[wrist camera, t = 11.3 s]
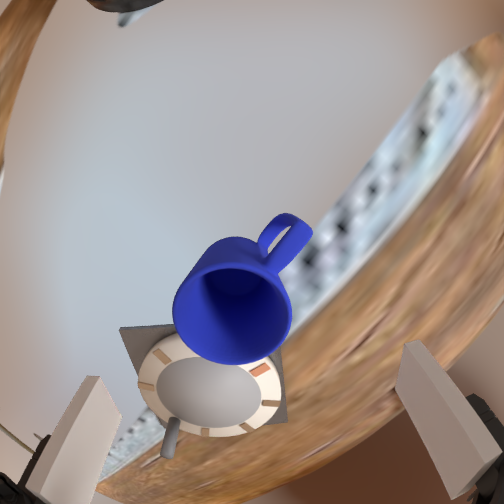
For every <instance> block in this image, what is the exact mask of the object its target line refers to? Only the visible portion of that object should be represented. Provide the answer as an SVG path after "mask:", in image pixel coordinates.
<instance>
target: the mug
mask: <svg viewBox="0 0 504 504" xmlns="http://www.w3.org/2000/svg"><path fill="white" fill-rule="evenodd" d="M288 226H291V227H290V229H289V230H288V231H287V232H286V234H285V235H284V236H283V237H282V239H281V240H280V241H279V242H278V243H277V245H276V246H275V247H274V248H273V250H272V251H271V252H270V253H269V254H268V251H267V250H268V247H269V246H270V244H271V243H272V242H273V240H274V239H275V238H276V237H277V236H278V234H279V233H280V232H281V231H283V230H284V229H285V228H286V227H288ZM312 234H313V231H312V229H311V228H310V227H309V226H308V225H307V224H306V223H305V222H304V221H302V220H301V219H299V218H298V217H296V216H294V215H292V214H288V213H283V214H279V215H278V216H276V217H275V218H274V219H273V220H272V221H271V222H270V223H269V224H268V225H267V226H266V228H265V229H264V230H263V232H262V233H261V234H260V236H259V238H258V242H257V243H256V242H254V241H252V240H250V239H247V238H243V237H228V238H224V239H221V240H219V241H217V242H215V243H214V244H212V245H211V246H210V247H209V248H208V249H207V250H206V251H205V253H204V254H203V255H202V257H201V258H200V259H199V261H198V262H197V263H196V265H195V266H194V267H193V269H192V270H191V271H190V273H189V274H188V276H187V277H186V278H185V280H184V281H183V282H182V284H181V285H180V287H179V289H178V291H177V292H176V295H175V297H174V301H173V307H172V315H173V322H174V325H175V329H176V331H177V333H178V335H179V336H180V338H181V339H182V341H183V342H184V343H185V344H186V346H187V347H188V348H190V349H191V350H192V351H193V352H194V353H196V354H197V355H199V356H201V357H202V358H204V359H206V360H209V361H212V362H215V363H219V364H224V365H243V364H249V363H253V362H256V361H259V360H261V359H263V358H265V357H267V356H268V355H270V354H271V353H273V352H274V351H275V350H276V349H277V348H278V347H279V346H280V345H281V344H282V343H283V341H284V340H285V338H286V336H287V334H288V332H289V329H290V326H291V321H292V308H291V303H290V300H289V297H288V295H287V292H286V290H285V288H284V286H283V284H282V282H281V280H280V278H279V276H278V273H279V272H280V271H281V270H282V269H283V268H285V267H286V266H287V265H288V264H289V263H290V262H291V261H292V260H293V259H294V258H295V256H296V255H297V254H298V253H299V252H300V251H301V250H302V248H303V247H304V246H305V245H306V243H307V242H308V241H309V240H310V238H311V237H312Z"/></svg>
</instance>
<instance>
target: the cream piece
mask: <svg viewBox="0 0 504 504" xmlns="http://www.w3.org/2000/svg"><path fill="white" fill-rule="evenodd" d="M138 388H139V389H140V392H141V395H142V397H143V399H144V401H145V402H146V404H147V405H148V406H149V408H150V409H151V410H152V411H153V412H154V413H155V414H156V415H157V416H159V417H160V418H161V419H162V420H164V421H165V422H167V423H168V424H167V428H166V432H165V436H164V440H163V444H162V448H161V452H160V455H161V456H162V457H164V458H166V459H172V458H173V456H174V451H175V446H176V442H177V437H178V432H179V429H181V430H183V431H186V432H189V433H193V434H197V435H201V437H209V436H211V437H226V436H234V435H239V434H243V433H246V432H248V433H250V432H252V431H254V430H255V429H256V428H258V427H260V426H261V425H263V424H264V423H266V422H267V421H268V420H269V419H270V418H271V417H272V416H273V415H274V413H275V412H276V410H277V408H278V407H279V406H280V402H281V401H280V400H281V386H280V379H279V375H278V371H277V369H276V367H275V365H274V364H273V362H272V361H271V359H270V358H269V357H268V356H267V357H265V358H263V359H261V360H259V361H256V362H253V363H249V364H243V365H224V364H219V363H215V362H212V361H209V360H206V359H204V358H202V357H201V356H199V355H197V354H196V353H194V352H193V351H192V350H191V349H190V348H188V347H187V346H186V344H185V343H184V342H183V341H182V339H181V338H180V336H179V335H178V333H176V334H172V335H170V336H168V337H166V338H164V339H162V340H161V341H159V342H157V343H156V344H155V345H154V346H153V347H152V348H151V349H150V350H149V352H148V353H147V355H146V357H145V359H144V361H143V363H142V366H141V368H140V371H139V377H138Z"/></svg>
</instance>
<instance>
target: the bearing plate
mask: <svg viewBox="0 0 504 504" xmlns="http://www.w3.org/2000/svg"><path fill="white" fill-rule="evenodd" d="M119 331H120V334H121V337H122V339H123V342H124V344H125V347H126V349H127V351H128V354H129V356H130V359H131V361H132V363H133V366H134V368H135V370H136V372H137V375H138V377H139V371H140V368H141V366H142V363H143V361H144V359H145V357H146V355H147V353H148V352H149V350H150V349H151V348H152V347H153V346H154V345H155V344H156V343H157V342H159V341H161V340H162V339H164V338H166V337H168V336H170V335H172V334H176V333H177V331H176V329H175V325H174V324H167V325H153V326H137V327H121V328H120V329H119ZM268 357H269V358H270V359H271V361H272V362H273V364H274V365H275V367H276V369H277V371H278V375H279V379H280V386H281V400H280V401H281V402H280V406H279V407H278V408H277V410H276V412H275V413H274V415H273V416H272V417H271V418H270V419H269V420H268V421H267V422H266V423H264V424H263V425H270V424H278V423H286V422H288V418H287V408H286V397H285V387H284V377H283V368H282V358H281V348H280V346H279V347H278V348H277V349H276V350H275V351H274V352H273V353H271V354H270V355H268ZM158 418H159V420H160V421H161V423H162V425H163V427H164V428H167V424H168V423H167V422H165V421H164V420H162V419H161V418H160V417H159V416H158Z"/></svg>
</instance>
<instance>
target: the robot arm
mask: <svg viewBox="0 0 504 504" xmlns="http://www.w3.org/2000/svg"><path fill="white" fill-rule="evenodd" d="M87 1H88V2H89V3H90V4H91V5H93V6H94V7H95V8H97V9H99V10H102V11H107V12H127V11H133V10H138V9H141V8H145V7H148V6H151V5H154V4H156V3H159V2H161V1H163V0H87ZM395 390H396V392H397V394H398V396H399V397H400V399H401V401H402V403H403V405H404V407H405V408H406V410H407V412H408V414H409V416H410V418H411V419H412V421H413V423H414V425H415V427H416V429H417V430H418V433H419V434H420V436H421V438H422V440H423V442H424V444H425V446H426V448H427V450H428V452H429V454H430V456H431V458H432V460H433V462H434V464H435V466H436V468H437V470H438V472H439V474H440V476H441V479H442V481H443V483H444V485H445V487H446V489H447V491H448V494H449V496H450V498H451V500H453V499H454V498H456V497H458V496H460V495H462V494H464V493H466V492H467V491H469V490H470V489H471V488H472V487H473V486H474V485H475V484H476V486H477V489H476V490H475V491H474V492H473V493H472V494H471V495H470V496H469V498H468V499H467V501H470V500H471V499H472V498H473V497H474V498H473V502H472V504H504V426H503V425H502V424H501V422H500V421H499V420H498V418H496V417H495V414H494V413H493V412H492V411H491V410H490V408H489V406H488V405H487V404H486V402H485V401H484V400H483V399H482V398H480V397H478V396H477V395H475V394H472V395H469V396H467V397H464V396H463V394H462V393H461V392H460V390H459V389H458V388H457V386H456V385H455V384H454V382H453V381H452V380H451V378H450V377H449V376H448V375H447V373H446V372H445V371H444V369H443V368H442V367H441V366H440V364H439V363H438V362H437V361H436V359H435V358H434V357H433V356H432V354H431V353H430V352H429V351H428V349H427V348H426V347H425V346H424V345H423V343H422V342H421V341H420V340H415V341H412V342H408V343H405V344H404V348H403V353H402V358H401V364H400V368H399V373H398V378H397V382H396V387H395ZM121 420H122V415H121V414H120V412H119V410H118V409H117V407H116V405H115V403H114V401H113V400H112V398H111V396H110V395H109V393H108V391H107V389H106V387H105V385H104V383H103V382H102V380H101V378H100V376H86V378H85V380H84V381H83V383H82V384H81V386H80V388H79V389H78V391H77V392H76V394H75V396H74V397H73V399H72V401H71V402H70V404H69V406H68V407H67V409H66V411H65V413H64V414H63V416H62V418H61V419H60V421H59V423H58V425H57V426H56V428H55V430H54V432H53V434H52V435H47V436H46V437H45V438H44V439H43V440H41V441H40V443H39V445H38V447H37V448H36V452H34V454H33V456H32V459H30V461H29V463H28V465H27V467H26V469H25V471H24V473H23V475H22V477H21V479H20V481H19V482H18V484H17V485H16V484H15V483H14V482H13V481H12V480H11V479H10V478H9V477H8V476H7V475H5V474H4V473H2V472H0V504H90V502H91V500H92V497H93V494H94V491H95V488H96V485H97V483H98V480H99V477H100V474H101V472H102V469H103V466H104V463H105V461H106V458H107V455H108V453H109V450H110V448H111V445H112V442H113V440H114V437H115V435H116V432H117V429H118V427H119V425H120V422H121Z"/></svg>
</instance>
